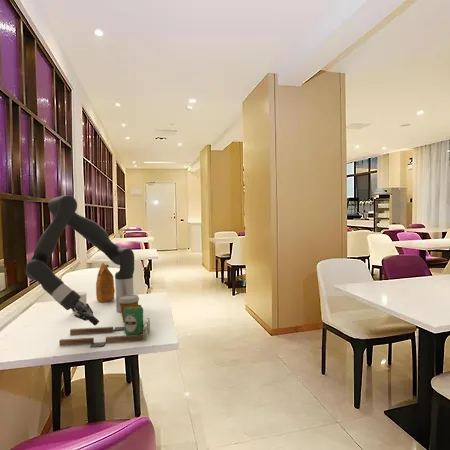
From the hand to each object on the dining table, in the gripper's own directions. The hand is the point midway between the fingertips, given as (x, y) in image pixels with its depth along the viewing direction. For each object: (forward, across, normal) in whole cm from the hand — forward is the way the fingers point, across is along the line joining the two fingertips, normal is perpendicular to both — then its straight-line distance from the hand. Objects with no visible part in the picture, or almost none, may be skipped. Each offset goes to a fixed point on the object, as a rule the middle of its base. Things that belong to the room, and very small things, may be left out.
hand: (97, 323), depth 151 cm
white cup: (-10, +41, +19) cm, 46 cm away
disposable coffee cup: (+11, +20, -3) cm, 23 cm away
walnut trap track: (+7, 0, +2) cm, 7 cm away
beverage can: (+15, +2, -6) cm, 16 cm away
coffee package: (-4, +65, +13) cm, 66 cm away
